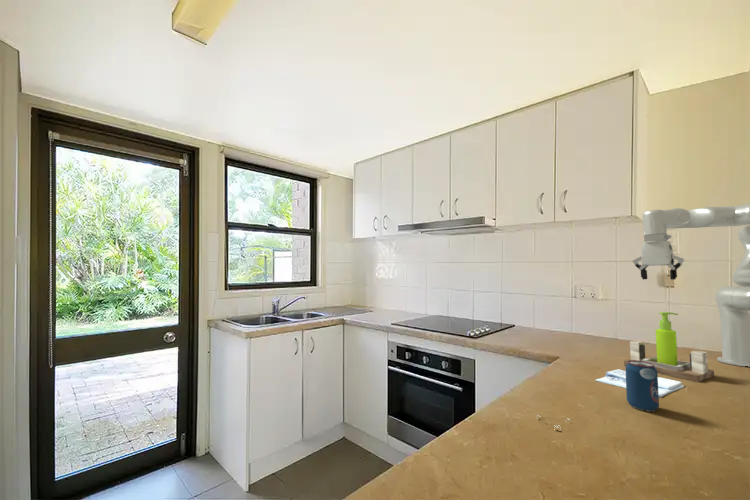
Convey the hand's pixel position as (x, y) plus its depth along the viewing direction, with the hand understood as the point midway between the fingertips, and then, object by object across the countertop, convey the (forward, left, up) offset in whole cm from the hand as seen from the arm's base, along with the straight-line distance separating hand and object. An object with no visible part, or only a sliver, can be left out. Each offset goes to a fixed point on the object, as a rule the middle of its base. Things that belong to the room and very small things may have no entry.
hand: (658, 279), depth 140 cm
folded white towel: (+41, +8, -35) cm, 54 cm away
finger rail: (+14, +6, -34) cm, 38 cm away
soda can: (+63, +19, -35) cm, 74 cm away
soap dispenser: (+13, +7, -33) cm, 36 cm away
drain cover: (+94, +14, -35) cm, 101 cm away
